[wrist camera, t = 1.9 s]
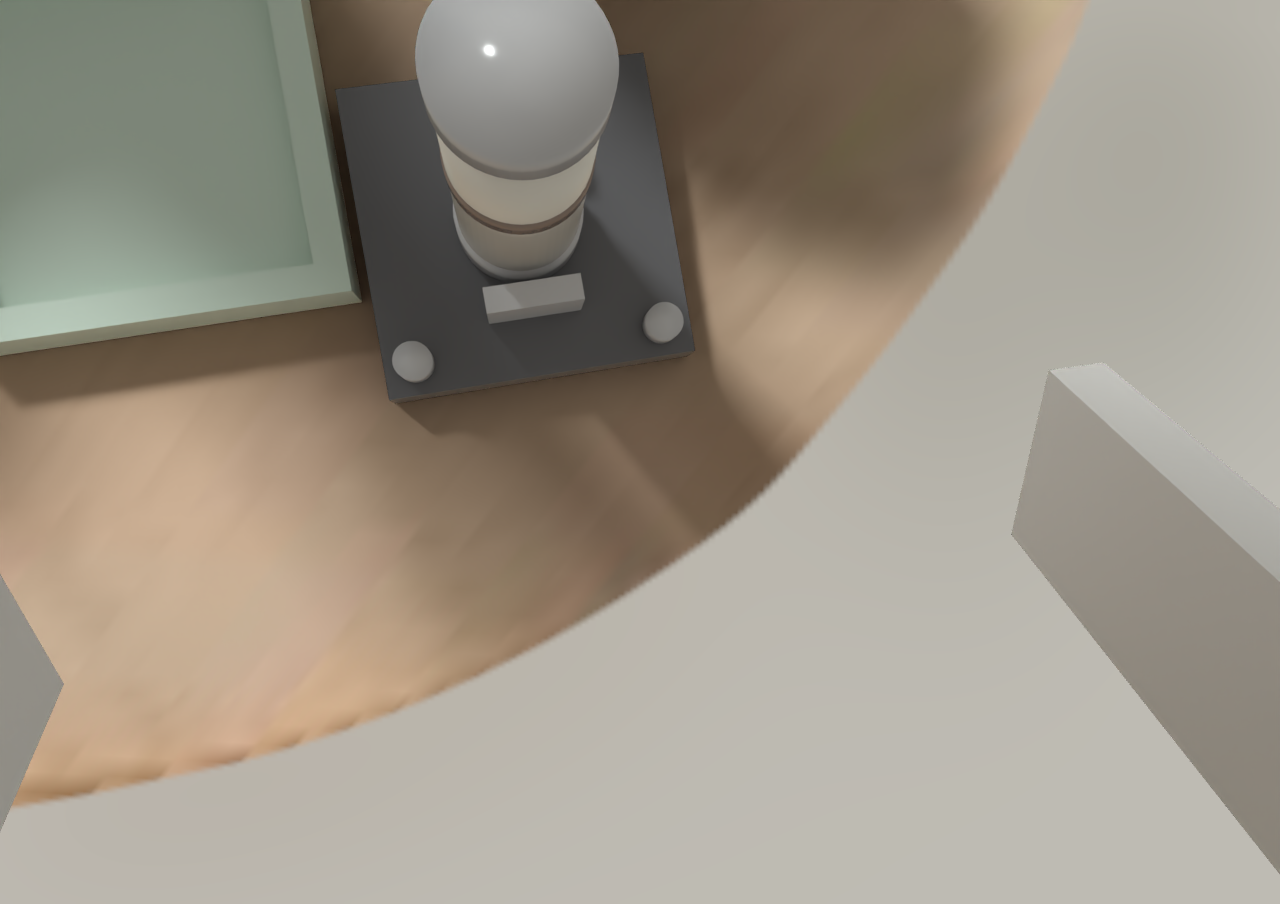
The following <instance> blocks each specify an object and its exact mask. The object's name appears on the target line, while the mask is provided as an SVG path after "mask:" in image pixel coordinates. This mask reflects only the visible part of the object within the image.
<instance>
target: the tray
mask: <svg viewBox="0 0 1280 904" xmlns="http://www.w3.org/2000/svg"><path fill="white" fill-rule="evenodd" d="M360 302H362V298H361V292H360V287H359V281H358V275H357V270H356V264H355V258H354V252H353V247H352V241H351V235H350V229H349V224H348V218H347V212H346V207H345V201H344V195H343V189H342V184H341V178H340V172H339V166H338V161H337V155H336V149H335V144H334V138H333V132H332V126H331V121H330V115H329V109H328V103H327V98H326V92H325V86H324V81H323V75H322V69H321V63H320V58H319V52H318V46H317V40H316V35H315V29H314V23H313V18H312V12H311V6H310V0H0V356H2V355H9V354H16V353H23V352H29V351H36V350H43V349H50V348H56V347H63V346H70V345H77V344H83V343H90V342H97V341H104V340H110V339H117V338H124V337H131V336H137V335H144V334H151V333H158V332H164V331H171V330H178V329H185V328H191V327H198V326H205V325H212V324H218V323H225V322H232V321H239V320H245V319H252V318H259V317H266V316H272V315H279V314H286V313H293V312H299V311H306V310H313V309H320V308H326V307H333V306H340V305H347V304H353V303H360Z"/></svg>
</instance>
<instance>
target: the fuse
mask: <svg viewBox="0 0 1280 904" xmlns="http://www.w3.org/2000/svg"><path fill="white" fill-rule="evenodd" d="M415 64H416V73H417V77H418V81H419V86H420V89H421V93H422V97H423V101H424V105H425V109H426V112H427V114H428V117H429V120H430V122H431V124H432V126H433V128H434V129H435V131H436V134H437V138H438V142H439V146H440V158H441V163H442V167H443V171H444V175H445V179H446V182H447V185H448V187H449V189H450V191H451V196H452V200H453V217H454V222H455V226H456V230H457V234H458V238H459V241H460V243H461V246H462V248H463V250H464V252H465V254H466V255H467V256H468V258H469V259H470V261H471V262H472V263H473V264H474V265H475V266H476V267H477V268H478V269H480V270H481V271H482V272H483V273H485V274H487V275H488V276H490V277H492V278H494V279H496V280H499V281H502V282H506V283H517V282H523V281H530V280H537V279H543V278H548V277H550V276H552V275H553V274H555V273H556V272H558V271H559V270H560V269H561V268H562V267H563V266H564V265H565V264H566V263H567V262H568V261H569V259H570V258H571V256H572V254H573V253H574V251H575V249H576V246H577V243H578V240H579V236H580V232H581V228H582V224H583V216H584V208H583V206H584V202H585V198H586V194H587V192H588V190H589V187H590V184H591V181H592V177H593V173H594V168H595V162H596V152H597V147H598V143H599V139H600V137H601V135H602V134H603V131H604V129H605V127H606V125H607V123H608V119H609V116H610V113H611V109H612V105H613V101H614V97H615V93H616V89H617V83H618V77H619V57H618V48H617V44H616V40H615V36H614V34H613V31H612V28H611V26H610V23H609V22H608V20H607V18H606V16H605V14H604V12H603V11H602V9H601V8H600V7H599V5H598V4H597V2H596V1H595V0H433V1H432V2H431V4H430V5H429V7H428V8H427V10H426V12H425V14H424V17H423V19H422V21H421V24H420V27H419V30H418V34H417V40H416V46H415Z"/></svg>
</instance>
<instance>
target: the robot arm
mask: <svg viewBox="0 0 1280 904" xmlns="http://www.w3.org/2000/svg"><path fill="white" fill-rule="evenodd" d="M1011 535H1012V536H1013V537H1014V539H1015V540H1016V541H1017V542H1018V544H1019V545H1020V546H1021V547H1022V549H1023V550H1024V551H1025V552H1026V554H1027V555H1028V556H1029V557H1030V559H1031V560H1032V561H1033V563H1034V564H1035V565H1036V566H1037V568H1038V569H1039V570H1040V571H1041V572H1042V574H1043V575H1044V576H1045V578H1046V579H1047V580H1048V581H1049V583H1050V584H1051V585H1052V586H1053V588H1054V589H1055V590H1056V591H1057V593H1058V594H1059V595H1060V597H1061V598H1062V599H1063V601H1064V602H1065V603H1066V604H1067V605H1068V607H1069V608H1070V609H1071V611H1072V612H1073V613H1074V614H1075V616H1076V617H1077V618H1078V619H1079V621H1080V622H1081V623H1082V624H1083V626H1084V627H1085V628H1086V629H1087V631H1088V632H1089V633H1090V635H1091V636H1092V637H1093V638H1094V640H1095V641H1096V642H1097V644H1098V645H1099V646H1100V647H1101V649H1102V650H1103V651H1104V652H1105V654H1106V655H1107V656H1108V657H1109V659H1110V660H1111V661H1112V663H1113V664H1114V665H1115V666H1116V668H1117V669H1118V670H1119V671H1120V673H1121V674H1122V675H1123V676H1124V678H1125V679H1126V680H1127V681H1128V683H1129V684H1130V685H1131V686H1132V688H1133V689H1134V690H1135V691H1136V693H1137V694H1138V695H1139V697H1140V698H1141V699H1142V700H1143V702H1144V703H1145V704H1146V705H1147V707H1148V708H1149V709H1150V711H1151V712H1152V713H1153V714H1154V716H1155V717H1156V718H1157V719H1158V721H1159V722H1160V723H1161V724H1162V726H1163V727H1164V728H1165V729H1166V731H1167V732H1168V733H1169V735H1170V736H1171V737H1172V738H1173V740H1174V741H1175V742H1176V743H1177V745H1178V746H1179V747H1180V748H1181V750H1182V751H1183V752H1184V754H1185V755H1186V756H1187V757H1188V759H1189V760H1190V761H1191V762H1192V764H1193V765H1194V766H1195V767H1196V769H1197V770H1198V771H1199V773H1200V774H1201V775H1202V776H1203V778H1204V779H1205V780H1206V781H1207V783H1208V784H1209V785H1210V787H1211V788H1212V789H1213V790H1214V791H1215V793H1216V794H1217V795H1218V797H1219V798H1220V799H1221V800H1222V802H1223V803H1224V804H1225V805H1226V807H1227V808H1228V809H1229V810H1230V812H1231V813H1232V814H1233V816H1234V817H1235V818H1236V819H1237V821H1238V822H1239V823H1240V824H1241V826H1242V827H1243V828H1244V829H1245V831H1246V832H1247V833H1248V835H1249V836H1250V837H1251V838H1252V840H1253V841H1254V842H1255V843H1256V845H1257V846H1258V847H1259V849H1260V850H1261V851H1262V852H1263V854H1264V855H1265V856H1266V857H1267V859H1269V861H1270V862H1271V864H1272V865H1273V866H1274V867H1275V869H1276V870H1277V871H1278V872H1279V874H1280V509H1279V508H1278V507H1277V506H1276V505H1274V504H1273V503H1272V502H1271V501H1270V500H1268V499H1267V498H1266V497H1265V496H1264V495H1262V494H1261V493H1260V492H1259V491H1258V490H1256V489H1255V488H1254V487H1253V486H1251V485H1250V484H1249V483H1248V482H1247V481H1245V480H1244V479H1243V478H1242V477H1241V476H1239V475H1238V474H1237V473H1236V472H1235V471H1233V470H1232V469H1231V468H1230V467H1229V466H1227V465H1226V464H1225V463H1224V462H1223V461H1221V460H1220V459H1219V458H1218V457H1217V456H1215V455H1214V454H1213V453H1212V452H1211V451H1209V450H1208V449H1207V448H1206V447H1204V446H1203V445H1202V444H1201V443H1200V442H1199V441H1197V440H1196V439H1195V438H1194V437H1192V436H1191V435H1190V434H1189V433H1188V432H1187V431H1185V430H1184V429H1183V428H1182V427H1180V426H1179V425H1178V424H1177V423H1176V422H1174V421H1173V420H1172V419H1171V418H1169V417H1168V416H1167V415H1166V414H1165V413H1163V412H1162V411H1161V410H1160V409H1159V408H1158V407H1156V406H1155V405H1154V404H1153V403H1152V402H1150V401H1149V400H1148V399H1147V398H1146V397H1144V396H1143V395H1142V394H1141V393H1140V392H1138V391H1137V390H1136V389H1135V388H1133V387H1132V386H1131V385H1130V384H1129V383H1128V382H1126V381H1125V380H1124V379H1123V378H1121V377H1120V376H1119V375H1118V374H1117V373H1115V372H1114V371H1113V370H1112V369H1111V368H1109V367H1108V366H1107V365H1106V364H1105V363H1097V364H1090V365H1082V366H1075V367H1068V368H1061V369H1053V370H1049V371H1048V375H1047V380H1046V384H1045V389H1044V393H1043V398H1042V402H1041V407H1040V411H1039V415H1038V420H1037V424H1036V428H1035V432H1034V437H1033V442H1032V446H1031V450H1030V454H1029V459H1028V463H1027V468H1026V472H1025V477H1024V481H1023V485H1022V490H1021V494H1020V498H1019V503H1018V507H1017V512H1016V516H1015V520H1014V525H1013V530H1012V534H1011ZM63 685H64V683H63V681H62V680H61V678H60V676H59V675H58V673H57V671H56V669H55V668H54V666H53V664H52V663H51V661H50V659H49V657H48V656H47V654H46V652H45V650H44V649H43V647H42V645H41V644H40V642H39V640H38V638H37V637H36V635H35V633H34V632H33V630H32V628H31V626H30V625H29V623H28V621H27V620H26V618H25V616H24V614H23V613H22V611H21V609H20V607H19V606H18V604H17V602H16V601H15V599H14V597H13V595H12V594H11V592H10V590H9V589H8V587H7V585H6V583H5V582H4V580H3V578H2V576H1V575H0V831H1V829H2V826H3V824H4V822H5V819H6V817H7V814H8V812H9V810H10V808H11V805H12V803H13V801H14V798H15V796H16V794H17V791H18V789H19V787H20V785H21V782H22V780H23V778H24V775H25V773H26V771H27V768H28V766H29V764H30V761H31V759H32V757H33V754H34V752H35V750H36V747H37V745H38V743H39V740H40V738H41V736H42V733H43V731H44V729H45V726H46V724H47V722H48V720H49V717H50V715H51V713H52V710H53V708H54V706H55V703H56V701H57V699H58V696H59V694H60V692H61V689H62V687H63Z"/></svg>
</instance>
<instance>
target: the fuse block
mask: <svg viewBox="0 0 1280 904" xmlns="http://www.w3.org/2000/svg"><path fill="white" fill-rule="evenodd" d="M618 57H619V77H618V83H617V89H616V93H615V97H614V101H613V105H612V109H611V113H610V116H609V119H608V123H607V125H606V127H605V129H604V131H603V134H602V135H601V137H600V139H599V143H598V147H597V152H596V162H595V168H594V173H593V177H592V181H591V184H590V187H589V190H588V192H587V194H586V198H585V202H584V206H583V208H584V216H583V224H582V228H581V232H580V236H579V240H578V243H577V246H576V249H575V251H574V253H573V254H572V256H571V258H570V259H569V261H568V262H567V263H566V264H565V265H564V266H563V267H562V268H561V269H560V270H559V271H558V272H556V273H555V274H553V275H552V276H550V277H548V278H543V279H537V280H530V281H523V282H517V283H506V282H502V281H499V280H496V279H494V278H492V277H490V276H488V275H487V274H485V273H483V272H482V271H481V270H480V269H478V268H477V267H476V266H475V265H474V264H473V263H472V262H471V261H470V259H469V258H468V256H467V255H466V254H465V252H464V250H463V248H462V246H461V243H460V241H459V238H458V234H457V230H456V226H455V222H454V217H453V200H452V196H451V191H450V189H449V187H448V185H447V182H446V179H445V175H444V171H443V167H442V163H441V158H440V146H439V142H438V138H437V134H436V131H435V129H434V128H433V126H432V124H431V122H430V120H429V117H428V114H427V112H426V109H425V105H424V101H423V97H422V93H421V89H420V86H419V81H418V80H409V81H401V82H392V83H384V84H376V85H367V86H359V87H351V88H342V89H335V92H336V98H337V103H338V109H339V115H340V121H341V126H342V132H343V138H344V144H345V149H346V155H347V161H348V166H349V172H350V178H351V184H352V189H353V195H354V201H355V207H356V212H357V218H358V224H359V229H360V235H361V241H362V247H363V252H364V258H365V264H366V270H367V275H368V281H369V287H370V292H371V298H372V304H373V310H374V315H375V321H376V327H377V333H378V338H379V344H380V350H381V355H382V361H383V367H384V373H385V378H386V384H387V390H388V396H389V400H390V401H392V402H394V403H402V402H408V401H414V400H420V399H426V398H433V397H439V396H445V395H451V394H457V393H463V392H470V391H476V390H482V389H488V388H494V387H500V386H506V385H513V384H519V383H525V382H531V381H537V380H543V379H550V378H556V377H562V376H568V375H574V374H580V373H587V372H593V371H599V370H605V369H611V368H617V367H624V366H630V365H636V364H642V363H648V362H654V361H660V360H667V359H673V358H679V357H685V356H688V355H690V354H691V353H692V352H694V351H695V347H694V342H693V336H692V330H691V324H690V319H689V313H688V307H687V301H686V296H685V290H684V284H683V278H682V273H681V267H680V261H679V256H678V250H677V244H676V238H675V233H674V227H673V221H672V215H671V210H670V204H669V198H668V192H667V187H666V181H665V175H664V170H663V164H662V158H661V152H660V147H659V141H658V135H657V129H656V124H655V118H654V112H653V106H652V101H651V95H650V89H649V84H648V78H647V72H646V66H645V61H644V55H643V53H635V54H627V55H619V56H618Z"/></svg>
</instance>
